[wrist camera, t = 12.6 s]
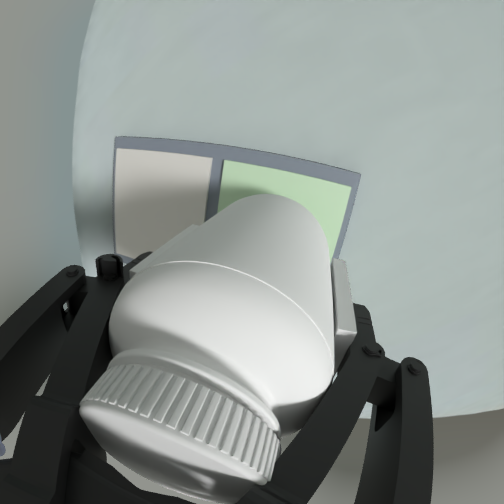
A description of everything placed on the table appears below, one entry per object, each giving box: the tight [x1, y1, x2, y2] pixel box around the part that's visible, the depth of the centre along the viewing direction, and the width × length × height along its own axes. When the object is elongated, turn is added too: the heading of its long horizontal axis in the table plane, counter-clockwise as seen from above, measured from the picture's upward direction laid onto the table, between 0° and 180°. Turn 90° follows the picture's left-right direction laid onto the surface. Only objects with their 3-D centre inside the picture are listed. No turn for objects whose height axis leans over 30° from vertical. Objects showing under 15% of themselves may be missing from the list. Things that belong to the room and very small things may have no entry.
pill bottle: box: [79, 194, 334, 504], centre depth 11 cm, size 8×8×15 cm
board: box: [113, 136, 361, 266], centre depth 21 cm, size 12×20×1 cm, turn 81°
